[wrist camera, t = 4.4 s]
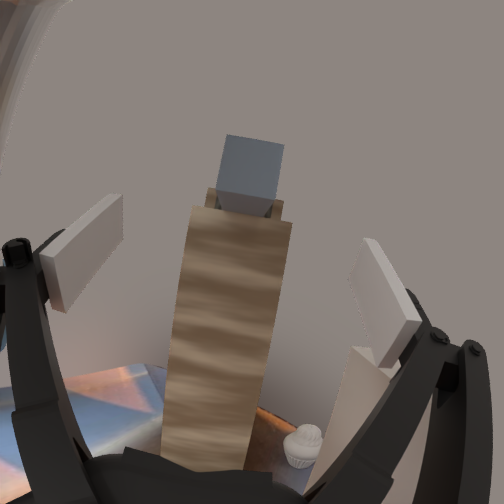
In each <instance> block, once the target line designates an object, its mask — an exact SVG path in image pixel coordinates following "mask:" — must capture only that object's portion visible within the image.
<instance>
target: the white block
mask: <svg viewBox="0 0 504 504" xmlns="http://www.w3.org/2000/svg"><path fill="white" fill-rule="evenodd" d="M400 367H401V365H400V362H399V359H398V360H397V362H396V363H395V365H394V366H393V368H392V369H388V368H377V367H376V364H375V360H374V357H373V353H372V350H371V348H368V347H355V346H350V350H349V354H348V358H347V362H346V366H345V370H344V374H343V377H342V381H341V385H340V388H339V392H338V395H337V399H336V402H335V405H334V408H333V412H332V415H331V418H330V421H329V425H328V427H327V430H326V434H325V437H324V439H323V442H322V445H321V448H320V451H319V454H318V456H317V459H316V462H315V464H314V467H313V470H312V472H311V475H310V478H309V480H308V483H307V485H306V488H305V490H304V492H303V494H305V493H306V492H307V491H308V490H309V489H310V488H311V487H312V486H313V485H314V484H315V483H316V482H317V481H318V480H319V479H320V477H321V476H322V475H323V474H324V473H325V472H326V470H327V469H328V468H329V467H330V466H331V465H332V463H333V462H334V461H335V460H336V458H337V457H338V456H339V455H340V453H341V452H342V451H343V450H344V448H345V447H346V446H347V445H348V443H349V442H350V441H351V439H352V438H353V437H354V435H355V434H356V433H357V431H358V430H359V429H360V427H361V426H362V424H363V423H364V422H365V420H366V419H367V417H368V416H369V414H370V413H371V412H372V410H373V409H374V407H375V406H376V404H377V403H378V401H379V400H380V398H381V397H382V395H383V393H384V392H385V390H386V389H387V387H388V385H389V384H390V383H389V382H390V380H391V379H392V378H393V376H394V375H395V374H396V372H397V371H398V369H399V368H400ZM490 387H491V386H490ZM432 394H433V393H432ZM431 404H432V396H431V398H430V400H429V403H428V405H427V407H426V410H425V412H424V414H423V416H422V419H421V421H420V423H419V425H418V427H417V429H416V431H415V433H414V435H413V437H412V439H411V441H410V443H409V445H408V447H407V449H406V451H405V452H404V454H403V456H402V458H401V460H400V462H399V463H398V465H397V467H396V469H395V470H394V472H393V474H392V477H391V478H393V479H394V483H393V485H392V487H391V489H390V490H389V492H388V494H387V495H386V497H385V498H384V500H383V502H382V503H381V504H412V502H413V498H414V495H415V491H416V487H417V483H418V479H419V474H420V470H421V465H422V461H423V456H424V450H425V445H426V439H427V433H428V427H429V420H430V412H431Z"/></svg>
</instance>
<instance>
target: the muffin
mask: <svg viewBox="0 0 504 504" xmlns="http://www.w3.org/2000/svg"><path fill="white" fill-rule="evenodd" d="M321 434H322V432H321V430H320V429H319V428H318V427H316V426H315V425H312V424H311V425H310V424H304V425H301V426H300V427H298V428H297V430H296V431H294V432H293V433H291V434H289V435H288V436H286V437H285V439H284V442H283V446H284V452H285V455H286V457H287V460H288V463H289V464H290V465H291V466H292V467H294V468H299V469H304V468H308V467H309V466H310V465H312V464H313V463H314V462H316V459H317V456H318V454H319V451H320V448H321V445H322V442H323V439H322V437H321Z"/></svg>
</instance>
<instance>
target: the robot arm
mask: <svg viewBox="0 0 504 504" xmlns="http://www.w3.org/2000/svg"><path fill="white" fill-rule="evenodd" d="M71 1H73V0H0V173H1V168H2V163H3V158H4V153H5V149H6V145H7V141H8V136H9V132H10V129H11V126H12V122H13V119H14V115H15V112H16V108H17V106H18V102H19V99H20V96H21V94H22V91H23V88H24V85H25V82H26V80H27V77H28V75H29V72H30V69H31V67H32V65H33V62H34V60H35V57H36V55H37V53H38V50H39V48H40V46H41V44H42V42H43V40H44V38H45V36H46V34H47V32H48V30H49V27H50V25H51V24H52V22H53V20H54V18H55V16H56V14H57V12H58V11H59V10H60V9H61V8H62V6H63V5H65V4H67V3H69V2H71ZM122 211H123V195H122V194H115V193H110V194H108V195H107V196H106V197H105V198H103V199H102V200H101V201H100V202H98V203H97V204H96V205H95V206H93V207H92V208H91V209H89V210H88V211H87V212H86V213H85V214H83V215H82V216H81V217H80V218H79V219H78V220H76V221H75V222H74V223H73V224H72V225H71V226H69V227H68V228H67V229H62V230H60V231H58V232H56V233H54V234H53V235H52V236H51V237H50V238H49V239H48V240H46V241H45V242H44V244H42V245H41V246H39V248H37V249H36V250H35V251H34V252H33V253H32V250H31V245H30V241H29V240H28V239H26V238H16V239H12V240H10V241H8V242H6V243H5V244H4V245H3V247H2V252H1V249H0V352H1V351H2V350H3V349H4V347H5V346H6V343H7V350H8V360H9V369H10V376H11V383H12V390H13V396H14V401H15V407H16V410H15V411H13V412H12V415H11V417H12V424H13V428H14V433H15V437H16V441H17V445H18V449H19V452H20V456H21V459H22V463H23V466H24V469H25V473H26V476H27V479H28V482H29V484H30V487H31V490H32V491H31V492H29V493H27V494H25V495H23V496H21V497H19V498H16V499H14V500H12V501H10V502H8V503H6V504H381V503H382V502H383V500H384V498H385V497H386V495H387V494H388V492H389V490H390V489H391V487H392V485H393V483H394V479H393V478H391V477H392V474H393V472H394V470H395V469H396V467H397V465H398V463H399V462H400V460H401V458H402V456H403V454H404V452H405V451H406V449H407V447H408V445H409V443H410V441H411V439H412V437H413V435H414V433H415V431H416V429H417V427H418V425H419V423H420V421H421V419H422V416H423V414H424V412H425V410H426V407H427V405H428V403H429V400H430V398H431V396H432V404H431V412H430V420H429V427H428V433H427V439H426V445H425V450H424V456H423V461H422V465H421V470H420V474H419V479H418V483H417V487H416V491H415V495H414V498H413V502H412V504H489V496H490V487H491V474H492V454H493V452H492V451H493V425H492V404H491V392H490V380H489V372H488V364H487V357H486V353H485V350H484V349H483V347H482V346H481V345H480V344H479V343H478V342H476V341H473V340H466V341H465V342H464V344H463V345H462V346H461V347H459V346H456V345H453V344H450V340H449V337H448V336H447V335H446V333H444V332H443V331H442V330H440V329H438V328H436V327H432V326H431V323H430V321H429V319H428V318H427V316H426V314H425V312H424V310H423V308H422V307H421V305H420V304H419V301H418V300H417V298H416V296H415V295H414V294H413V293H412V292H411V291H410V290H409V289H405V288H404V286H403V284H402V283H401V281H400V279H399V277H398V276H397V274H396V272H395V270H394V269H393V267H392V265H391V264H390V262H389V260H388V259H387V257H386V255H385V254H384V252H383V250H382V249H381V247H380V245H379V244H378V242H377V241H376V240H373V239H369V238H363V241H362V244H361V247H360V249H359V252H358V255H357V258H356V260H355V263H354V265H353V268H352V271H351V273H350V276H349V278H348V281H349V283H350V286H351V289H352V292H353V295H354V298H355V301H356V304H357V307H358V309H359V312H360V316H361V319H362V322H363V325H364V328H365V331H366V334H367V337H368V340H369V344H370V347H371V350H372V353H373V357H374V360H375V364H376V367H377V368H388V369H392V368H393V366H394V365H395V363H396V362H397V360H398V359H399V362H400V365H401V367H400V368H399V369H398V371H397V372H396V374H395V375H394V376H393V378H392V379H391V380H390V382H389V383H390V384H389V385H388V387H387V389H386V390H385V392H384V393H383V395H382V397H381V398H380V400H379V401H378V403H377V404H376V406H375V407H374V409H373V410H372V412H371V413H370V414H369V416H368V417H367V419H366V420H365V422H364V423H363V424H362V426H361V427H360V429H359V430H358V431H357V433H356V434H355V435H354V437H353V438H352V439H351V441H350V442H349V443H348V445H347V446H346V447H345V448H344V450H343V451H342V452H341V453H340V455H339V456H338V457H337V458H336V460H335V461H334V462H333V463H332V465H331V466H330V467H329V468H328V469H327V470H326V472H325V473H324V474H323V475H322V476H321V477H320V479H319V480H318V481H317V482H316V483H315V484H314V485H313V486H312V487H311V488H310V489H309V490H308V491H307V492H306V493H305V494H303V495H302V496H301V495H300V494H299V493H297V492H296V491H294V490H293V489H291V488H289V487H288V486H286V485H283V484H281V483H278V482H276V481H272V473H271V472H257V471H247V470H237V469H235V470H224V471H211V472H195V471H192V470H190V469H187V468H185V467H183V466H181V465H178V464H176V463H174V462H172V461H170V460H168V459H166V458H163V457H161V456H159V455H155V454H151V453H147V452H143V451H139V450H136V449H132V448H129V447H126V446H125V449H124V452H123V454H108V455H102V456H98V457H94V458H93V457H92V455H91V453H90V451H89V449H88V447H87V445H86V443H85V441H84V439H83V436H82V434H81V431H80V429H79V426H78V424H77V421H76V418H75V415H74V413H73V410H72V407H71V404H70V401H69V398H68V395H67V392H66V389H65V385H64V382H63V379H62V375H61V372H60V368H59V365H58V361H57V357H56V353H55V349H54V345H53V340H52V336H51V332H50V327H49V321H48V317H47V311H46V308H45V303H46V302H47V300H48V299H50V303H51V307H52V309H54V310H57V311H60V312H63V313H67V311H68V310H69V308H70V307H71V305H72V304H73V303H74V301H75V300H76V299H77V297H78V296H79V295H80V293H81V292H82V291H83V289H84V288H85V287H86V285H87V284H88V283H89V282H90V280H91V279H92V278H93V276H94V275H95V274H96V272H97V271H98V270H99V269H100V267H101V266H102V265H103V264H104V262H105V261H106V260H107V259H108V257H109V256H110V255H111V254H112V252H113V251H114V250H115V249H116V248H117V246H118V245H119V244H120V243H121V242H122V240H123V212H122ZM2 253H3V257H4V259H2ZM432 393H433V394H432Z"/></svg>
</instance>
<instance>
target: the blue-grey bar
mask: <svg viewBox="0 0 504 504" xmlns="http://www.w3.org/2000/svg"><path fill="white" fill-rule="evenodd" d="M283 149H284V145H283V144H278V143H273V142H267V141H262V140H257V139H251V138H245V137H239V136H232V135H227V136H226V141H225V145H224V151H223V155H222V159H221V165H220V169H219V174H218V179H217V184H216V189H215V190H216V193H217V196H218V199H219V201H220V204H221V207H222V210H225V211H231V212H236V213H242V214H248V215H253V216H259V217H263V216H264V215H265V214H266V212H267V211H268V209H269V208H270V207H271V205H272V204H273V202H274V201H275V198H276V192H277V185H278V179H279V174H280V168H281V161H282V156H283Z"/></svg>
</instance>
